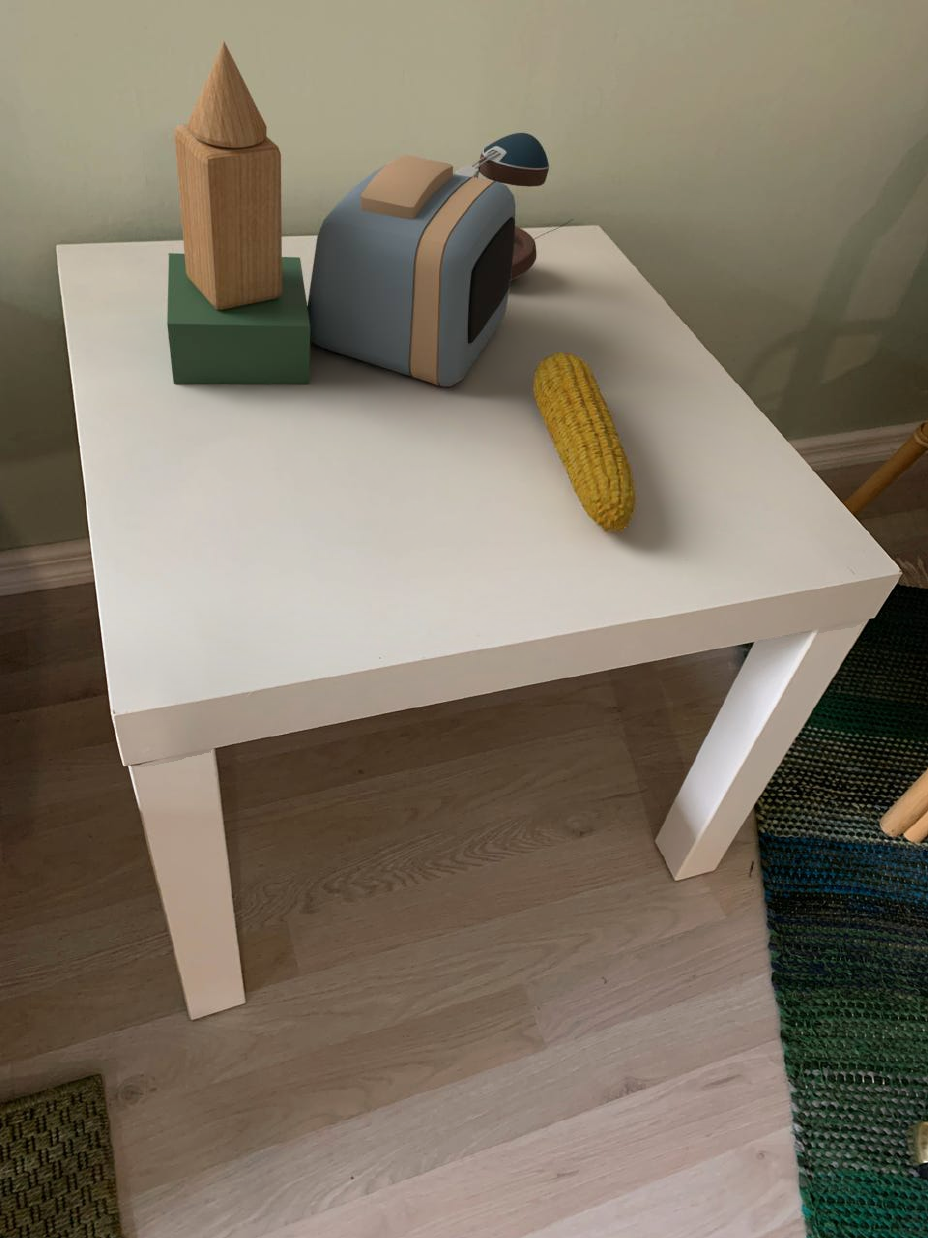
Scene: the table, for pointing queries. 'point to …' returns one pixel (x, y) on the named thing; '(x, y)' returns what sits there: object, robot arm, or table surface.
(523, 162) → the headphones
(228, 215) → the decorative item
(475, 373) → the table surface
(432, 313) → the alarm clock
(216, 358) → the green block
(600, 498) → the food
